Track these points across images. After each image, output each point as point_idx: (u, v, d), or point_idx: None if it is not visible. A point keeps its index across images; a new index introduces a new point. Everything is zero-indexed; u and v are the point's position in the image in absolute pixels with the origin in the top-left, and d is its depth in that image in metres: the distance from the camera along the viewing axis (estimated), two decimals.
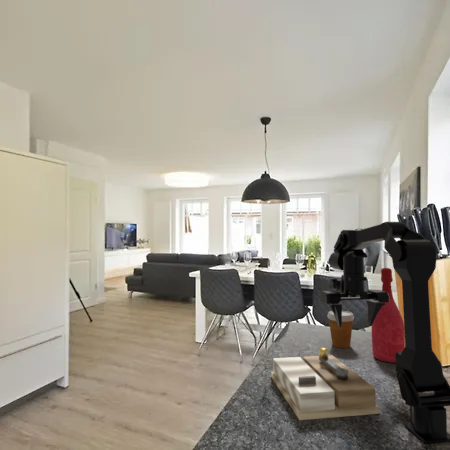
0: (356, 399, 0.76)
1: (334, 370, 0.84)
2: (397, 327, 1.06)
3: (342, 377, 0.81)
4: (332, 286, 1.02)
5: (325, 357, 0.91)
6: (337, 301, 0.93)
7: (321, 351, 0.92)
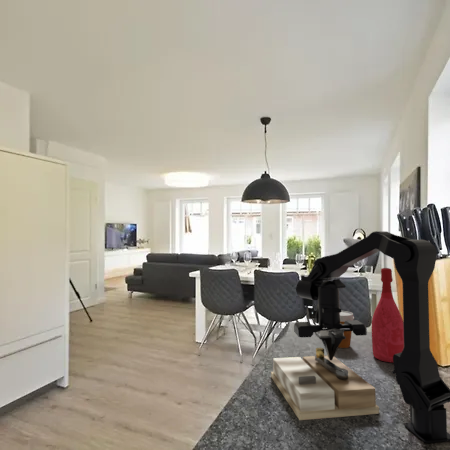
0: (356, 399, 0.76)
1: (334, 371, 0.84)
2: (397, 327, 1.06)
3: (343, 377, 0.81)
4: (308, 316, 0.97)
5: (322, 357, 0.91)
6: (309, 334, 0.89)
7: (318, 351, 0.92)
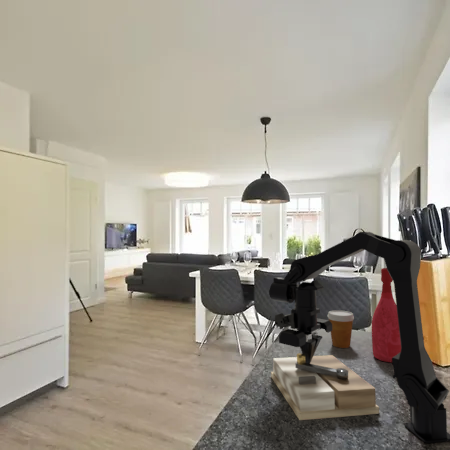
0: (356, 399, 0.76)
1: (332, 373, 0.82)
2: (397, 327, 1.06)
3: (346, 377, 0.81)
4: (280, 323, 0.90)
5: (305, 363, 0.87)
6: (304, 342, 0.83)
7: (301, 358, 0.87)
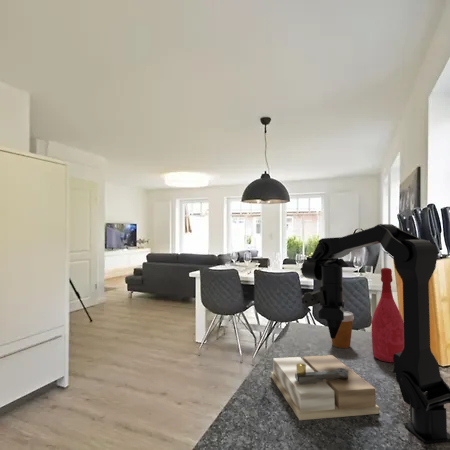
0: (356, 399, 0.76)
1: (335, 376, 0.81)
2: (397, 327, 1.06)
3: None
4: (311, 301, 0.92)
5: (305, 373, 0.81)
6: None
7: (304, 368, 0.80)
